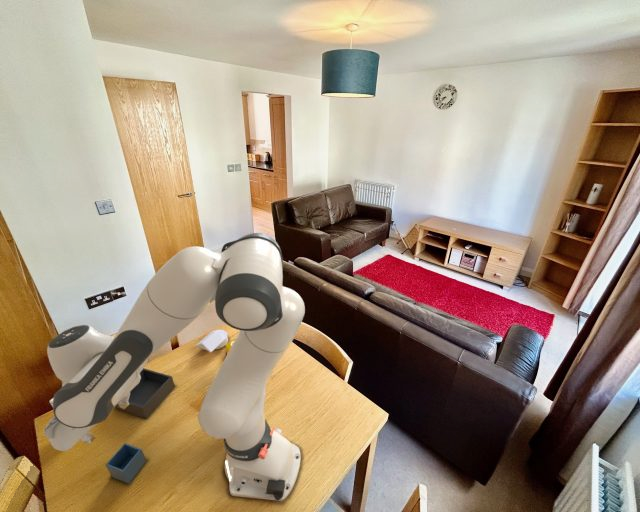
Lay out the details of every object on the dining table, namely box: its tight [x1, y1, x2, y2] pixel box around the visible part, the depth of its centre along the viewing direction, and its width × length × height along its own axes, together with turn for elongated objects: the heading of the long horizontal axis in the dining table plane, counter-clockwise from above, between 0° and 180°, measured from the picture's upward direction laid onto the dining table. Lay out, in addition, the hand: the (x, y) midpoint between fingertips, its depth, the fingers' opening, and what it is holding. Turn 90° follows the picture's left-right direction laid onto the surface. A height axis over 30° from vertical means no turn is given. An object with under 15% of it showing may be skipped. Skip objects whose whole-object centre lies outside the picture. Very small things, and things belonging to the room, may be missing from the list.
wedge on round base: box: [194, 329, 229, 353], centre depth 122 cm, size 9×7×13 cm
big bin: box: [114, 367, 176, 419], centre depth 98 cm, size 13×13×6 cm
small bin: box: [105, 442, 147, 485], centre depth 78 cm, size 6×6×6 cm
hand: (108, 422), depth 71 cm, fingers open, 8 cm apart
